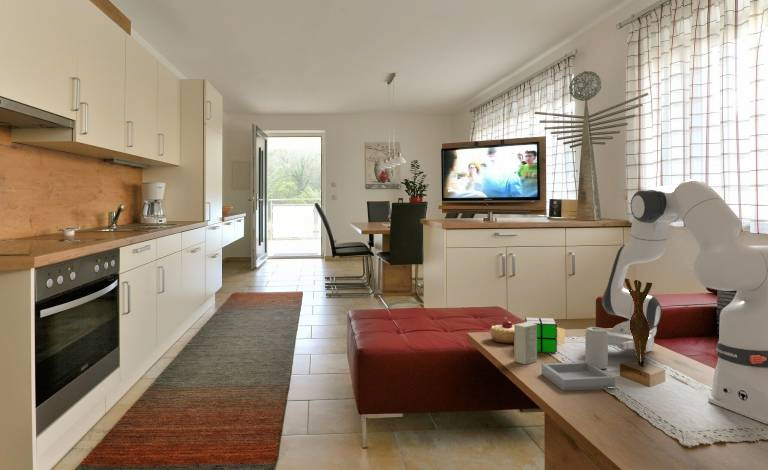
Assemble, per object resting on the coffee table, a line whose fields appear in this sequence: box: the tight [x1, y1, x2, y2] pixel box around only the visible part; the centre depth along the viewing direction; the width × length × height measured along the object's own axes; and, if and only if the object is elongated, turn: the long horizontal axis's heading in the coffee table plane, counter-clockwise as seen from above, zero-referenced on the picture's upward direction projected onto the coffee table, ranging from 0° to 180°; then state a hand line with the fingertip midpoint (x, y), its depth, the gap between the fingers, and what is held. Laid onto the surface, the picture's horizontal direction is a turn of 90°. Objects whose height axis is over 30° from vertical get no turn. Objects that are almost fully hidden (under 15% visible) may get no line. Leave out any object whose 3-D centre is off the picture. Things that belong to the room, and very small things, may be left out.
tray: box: [541, 361, 616, 392], centre depth 143 cm, size 14×14×3 cm
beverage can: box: [584, 326, 609, 370], centre depth 155 cm, size 6×6×12 cm
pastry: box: [489, 316, 515, 344], centre depth 188 cm, size 12×12×9 cm
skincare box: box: [513, 321, 538, 365], centre depth 162 cm, size 6×4×12 cm
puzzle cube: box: [524, 317, 558, 354], centre depth 177 cm, size 10×10×10 cm
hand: (607, 343), depth 159 cm, fingers open, 8 cm apart
